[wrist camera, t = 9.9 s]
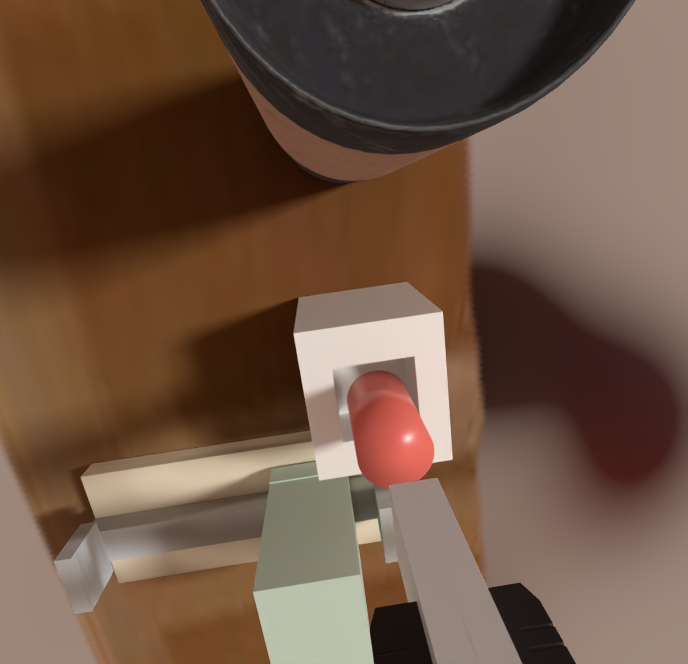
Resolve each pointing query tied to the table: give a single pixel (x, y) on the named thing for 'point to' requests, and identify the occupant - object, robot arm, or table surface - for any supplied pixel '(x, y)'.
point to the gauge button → (387, 430)
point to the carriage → (311, 572)
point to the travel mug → (400, 70)
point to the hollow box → (369, 364)
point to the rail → (197, 486)
